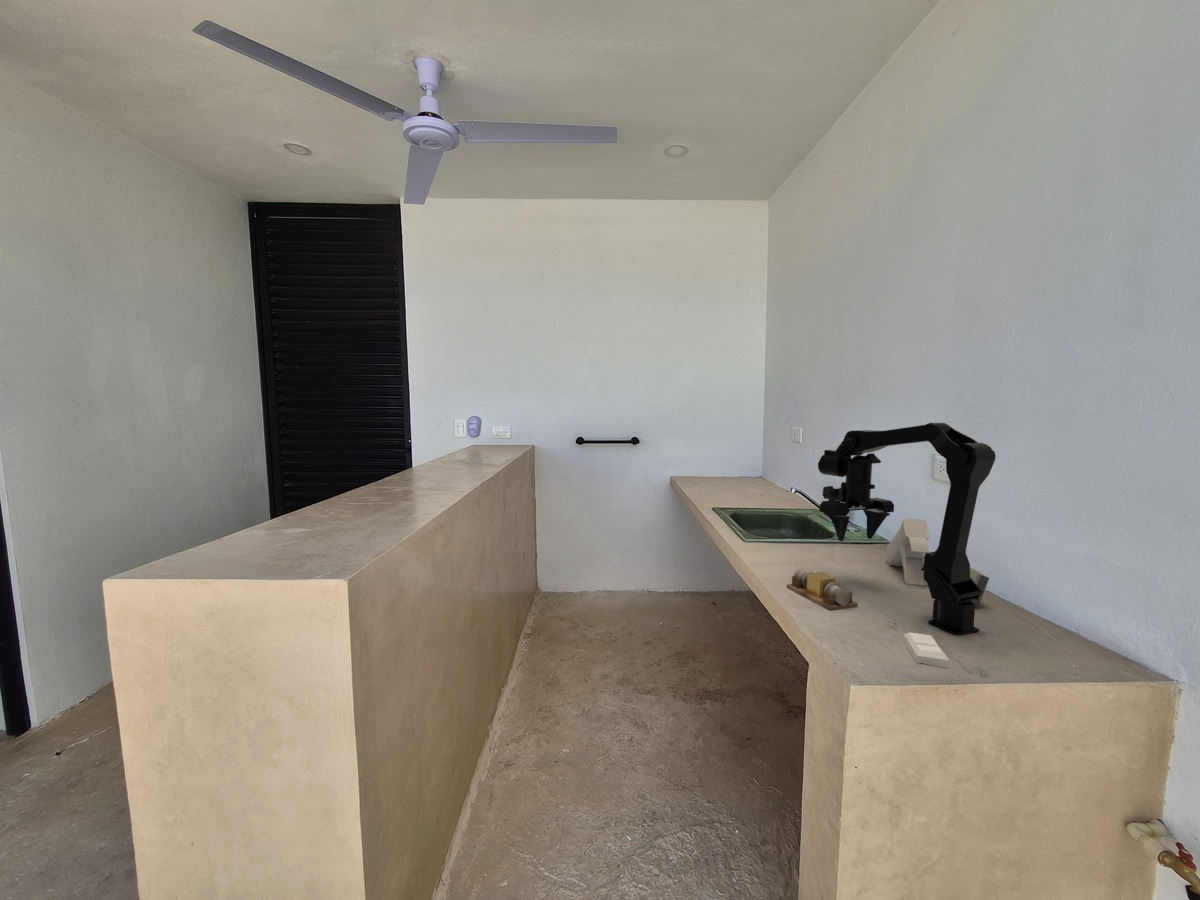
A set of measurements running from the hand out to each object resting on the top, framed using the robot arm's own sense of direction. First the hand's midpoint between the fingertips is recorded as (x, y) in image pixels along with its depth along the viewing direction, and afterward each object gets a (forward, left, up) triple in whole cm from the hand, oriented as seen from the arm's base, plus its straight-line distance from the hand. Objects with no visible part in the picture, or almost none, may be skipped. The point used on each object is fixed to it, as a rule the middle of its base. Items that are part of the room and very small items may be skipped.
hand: (855, 539), depth 124 cm
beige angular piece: (+5, -24, -13) cm, 28 cm away
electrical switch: (-14, -19, -13) cm, 27 cm away
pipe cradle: (-2, +12, -13) cm, 18 cm away
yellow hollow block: (-2, +12, -12) cm, 17 cm away
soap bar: (-31, +13, -14) cm, 36 cm away
